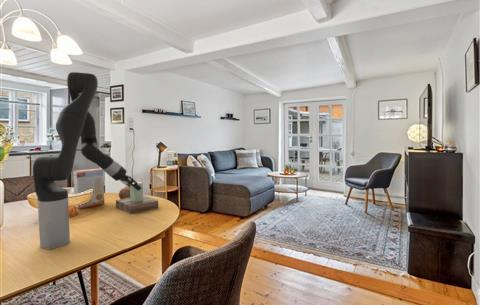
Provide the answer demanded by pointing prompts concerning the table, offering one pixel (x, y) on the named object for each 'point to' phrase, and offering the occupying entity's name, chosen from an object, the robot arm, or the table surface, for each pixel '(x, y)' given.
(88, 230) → the table surface
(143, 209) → the walnut base
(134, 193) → the sage block
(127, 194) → the onion
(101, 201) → the cracker box
